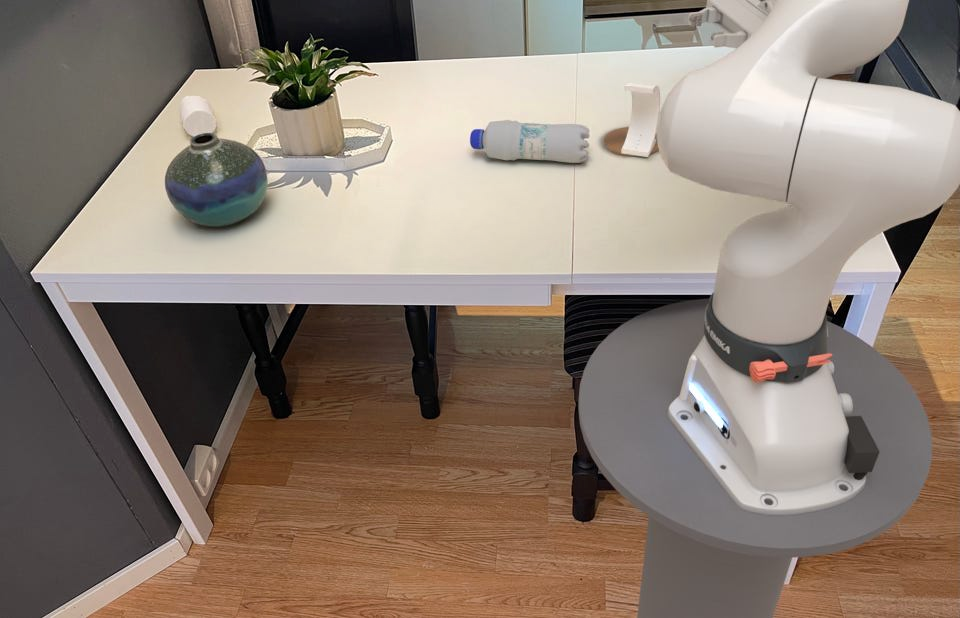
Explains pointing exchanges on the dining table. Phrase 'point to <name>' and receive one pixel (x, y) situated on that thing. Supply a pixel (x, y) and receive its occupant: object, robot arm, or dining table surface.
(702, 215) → the dining table surface
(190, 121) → the roll
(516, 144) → the bottle
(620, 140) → the coaster
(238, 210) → the vase
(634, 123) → the headphone stand
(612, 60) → the dining table surface
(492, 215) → the dining table surface
